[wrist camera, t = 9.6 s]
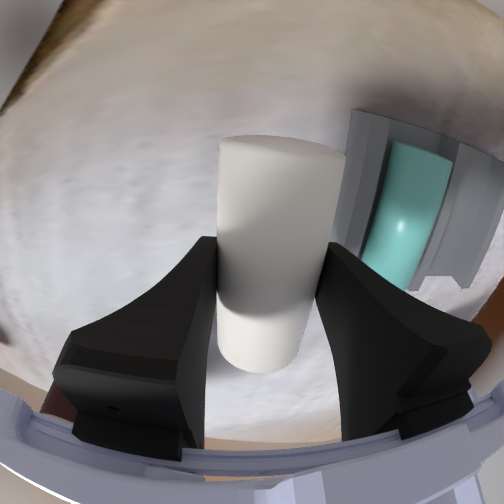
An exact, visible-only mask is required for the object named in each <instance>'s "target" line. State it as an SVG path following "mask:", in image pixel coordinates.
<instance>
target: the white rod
mask: <svg viewBox="0 0 504 504" xmlns="http://www.w3.org/2000/svg"><path fill="white" fill-rule="evenodd" d="M345 161H346V156H345V155H344V154H343V153H341V152H340V151H338V150H335V149H333V148H331V147H328V146H325V145H321V144H318V143H314V142H310V141H305V140H300V139H294V138H288V137H279V136H266V135H243V136H234V137H228V138H225V139H222V140H221V141H220V142H219V163H218V196H217V340H218V347H219V349H220V352H221V353H222V355H223V356H224V358H225V359H226V360H227V361H228V362H229V363H231V364H232V365H234V366H235V367H237V368H239V369H242V370H244V371H248V372H253V373H270V372H274V371H277V370H280V369H282V368H284V367H286V366H287V365H289V364H290V363H291V362H292V361H293V360H294V358H295V357H296V355H297V353H298V350H299V347H300V344H301V341H302V338H303V334H304V331H305V328H306V325H307V321H308V318H309V315H310V311H311V308H312V304H313V301H314V297H315V293H316V290H317V286H318V282H319V279H320V275H321V271H322V267H323V263H324V259H325V255H326V251H327V247H328V243H329V239H330V234H331V230H332V226H333V221H334V217H335V212H336V208H337V203H338V198H339V193H340V188H341V183H342V178H343V172H344V167H345Z"/></svg>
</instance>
